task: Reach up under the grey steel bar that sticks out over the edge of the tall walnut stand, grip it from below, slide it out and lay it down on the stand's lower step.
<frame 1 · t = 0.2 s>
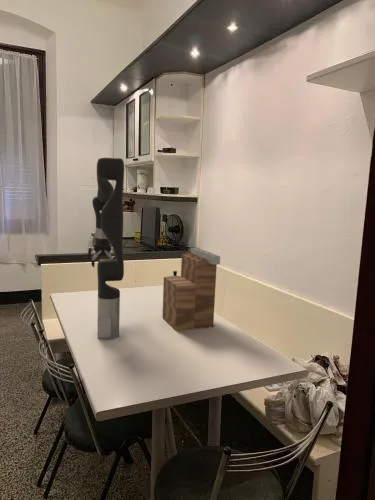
hand: (102, 266, 199), 23 cm above the table, tool pointing down, fingers open, 8 cm apart
coffee maker: (174, 303, 220), on the table
steel bar: (204, 259, 180), point 32 cm above the table, touching stand
stand: (195, 321, 190), on the table
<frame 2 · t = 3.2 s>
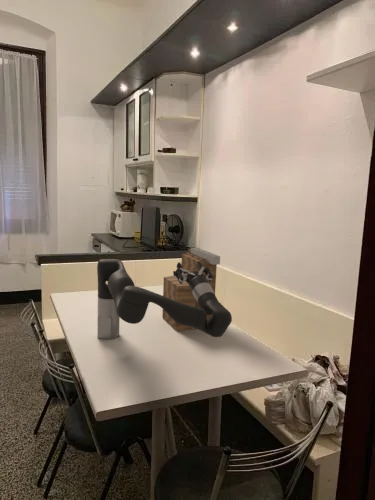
hand: (188, 263, 160), 34 cm above the table, tool pointing upward, fingers open, 8 cm apart
nothing on the table moved.
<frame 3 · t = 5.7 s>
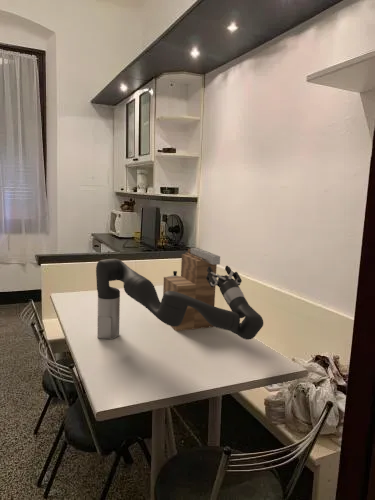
hand: (217, 267, 168), 31 cm above the table, tool pointing upward, fingers open, 8 cm apart
nothing on the table moved.
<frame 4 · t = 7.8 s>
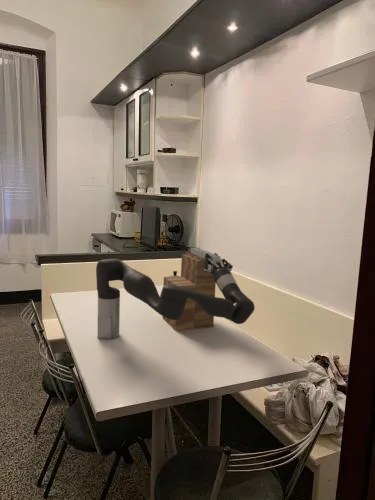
hand: (210, 254, 174), 35 cm above the table, tool pointing upward, fingers closed on steel bar, 3 cm apart
steel bar: (204, 259, 180), point 32 cm above the table, touching gripper, stand
everything else where it was.
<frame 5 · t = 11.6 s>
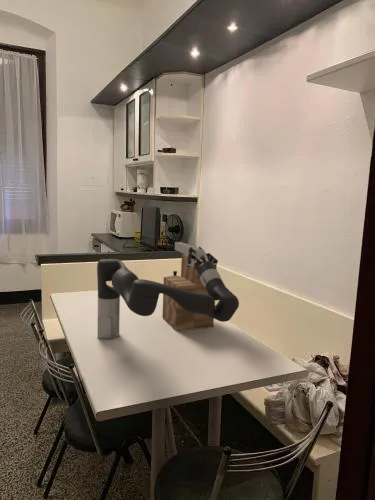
hand: (194, 248, 164), 39 cm above the table, tool pointing upward, fingers closed on steel bar, 3 cm apart
steel bar: (188, 253, 170), point 36 cm above the table, touching gripper
everything else where it was.
when the fingers open (26 cm above the table, at t = 15.2 s): steel bar drops 1 cm, resting on stand.
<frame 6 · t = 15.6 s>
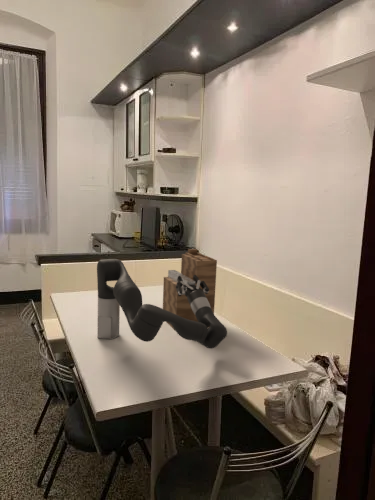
hand: (186, 276, 173), 25 cm above the table, tool pointing upward, fingers open, 6 cm apart
steel bar: (180, 282, 179), point 21 cm above the table, touching stand
everything else where it was.
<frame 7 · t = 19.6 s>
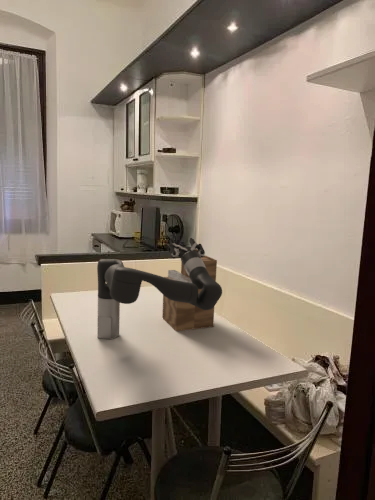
hand: (180, 239, 162), 43 cm above the table, tool pointing upward, fingers open, 8 cm apart
nothing on the table moved.
at the end: steel bar inside the target area on the stand (0.2 cm from its centre), point 21.0 cm above the stand's base; steel bar touching stand; the gripper is holding nothing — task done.
